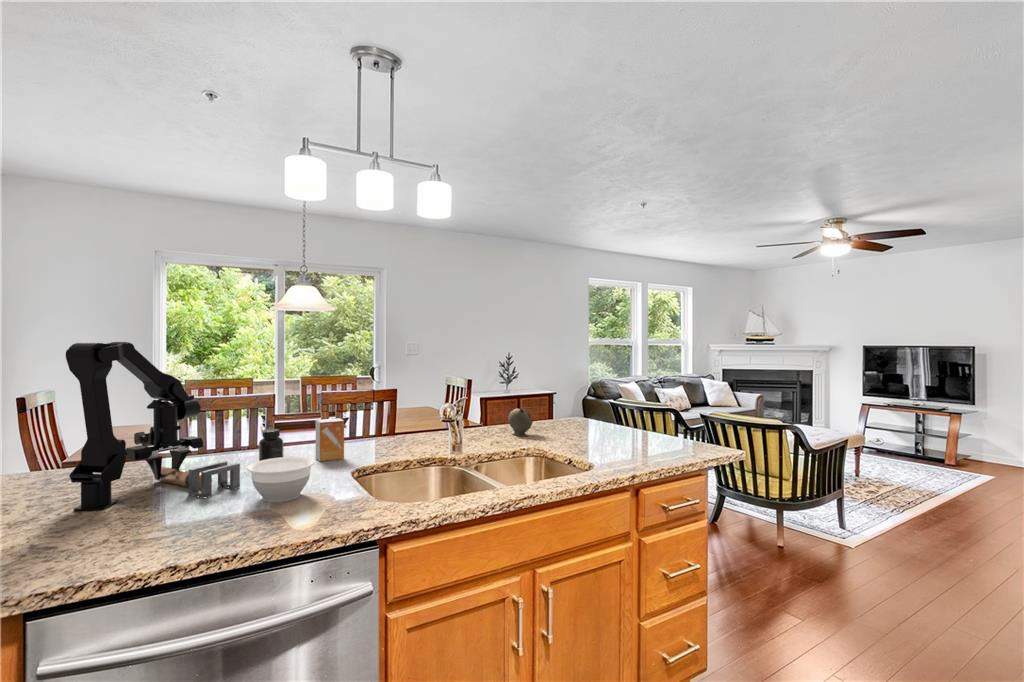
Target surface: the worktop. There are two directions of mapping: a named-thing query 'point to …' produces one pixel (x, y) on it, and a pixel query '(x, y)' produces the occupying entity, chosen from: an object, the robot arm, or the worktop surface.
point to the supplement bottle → (270, 445)
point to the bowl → (280, 477)
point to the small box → (329, 439)
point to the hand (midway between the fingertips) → (165, 477)
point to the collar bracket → (206, 478)
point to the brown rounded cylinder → (176, 476)
